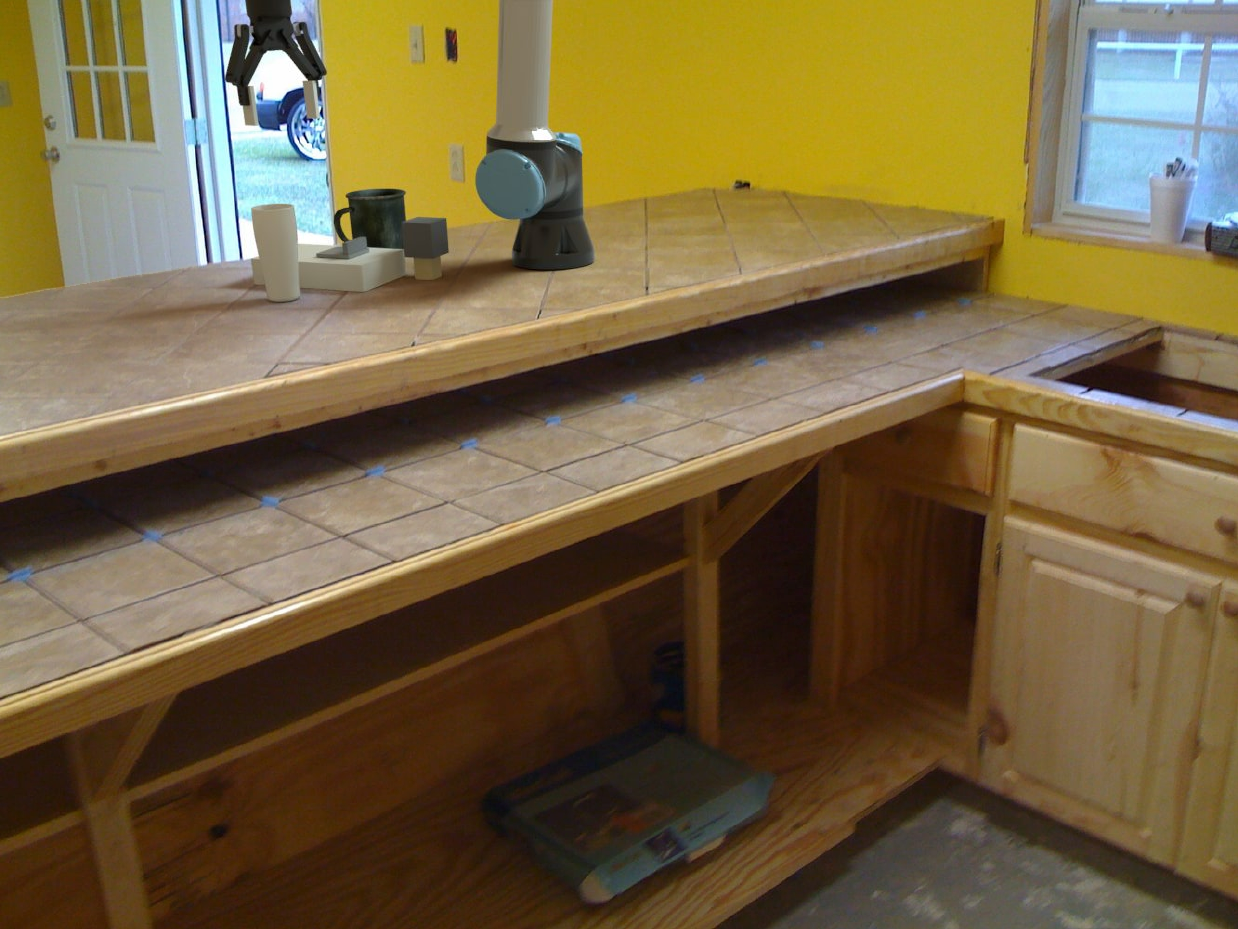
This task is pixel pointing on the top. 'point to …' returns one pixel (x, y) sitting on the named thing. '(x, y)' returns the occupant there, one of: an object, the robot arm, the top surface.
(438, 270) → the plug
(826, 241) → the top surface
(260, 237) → the drinking glass
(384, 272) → the socket
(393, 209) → the mug
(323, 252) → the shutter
